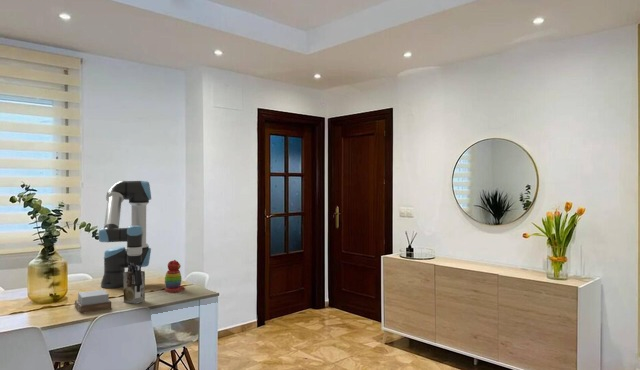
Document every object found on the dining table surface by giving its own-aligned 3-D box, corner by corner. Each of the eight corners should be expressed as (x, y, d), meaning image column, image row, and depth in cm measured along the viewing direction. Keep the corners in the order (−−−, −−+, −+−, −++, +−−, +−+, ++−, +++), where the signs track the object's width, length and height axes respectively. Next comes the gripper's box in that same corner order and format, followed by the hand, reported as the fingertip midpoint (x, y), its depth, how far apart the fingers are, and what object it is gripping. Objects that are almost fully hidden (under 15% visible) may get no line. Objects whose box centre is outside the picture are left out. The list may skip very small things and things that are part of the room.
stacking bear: (176, 293, 258) (177, 262, 258) (160, 292, 260) (161, 261, 260) (186, 288, 268) (186, 259, 268) (170, 287, 270) (170, 258, 270)
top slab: (78, 300, 228) (78, 292, 228) (103, 296, 235) (103, 289, 235) (81, 305, 219) (81, 297, 219) (108, 301, 226) (108, 294, 226)
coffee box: (145, 300, 241) (145, 271, 241) (136, 304, 235) (136, 273, 234) (131, 299, 244) (131, 269, 244) (122, 302, 238) (123, 272, 237)
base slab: (74, 308, 228) (74, 300, 228) (104, 303, 237) (104, 296, 237) (80, 314, 217) (80, 306, 217) (111, 309, 226) (111, 301, 226)
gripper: (120, 252, 245) (120, 292, 246) (134, 258, 228) (133, 301, 228) (134, 251, 250) (134, 290, 250) (148, 256, 232) (148, 299, 233)
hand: (134, 295), depth 239 cm, fingers closed on coffee box, 11 cm apart
